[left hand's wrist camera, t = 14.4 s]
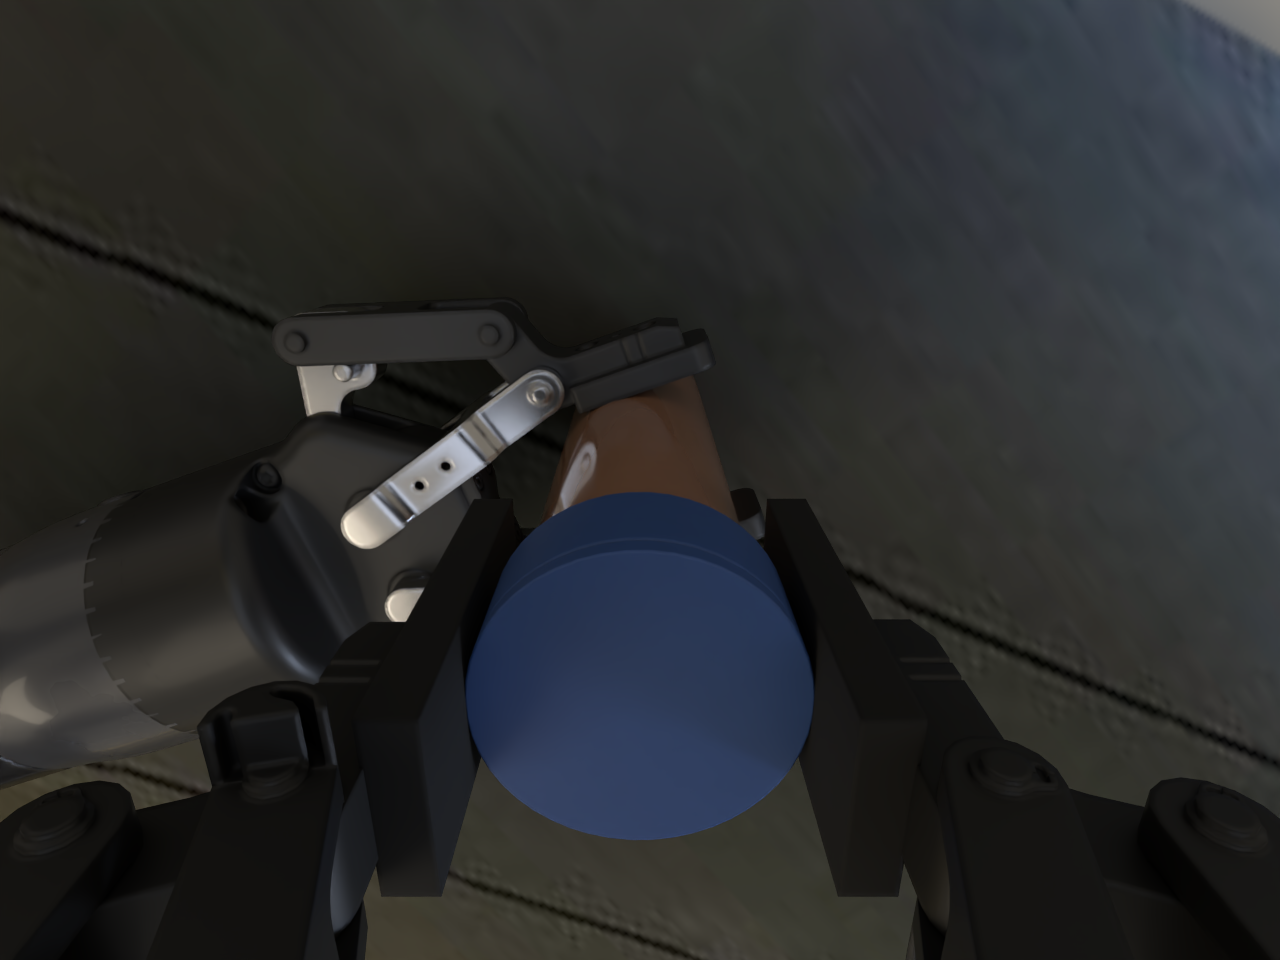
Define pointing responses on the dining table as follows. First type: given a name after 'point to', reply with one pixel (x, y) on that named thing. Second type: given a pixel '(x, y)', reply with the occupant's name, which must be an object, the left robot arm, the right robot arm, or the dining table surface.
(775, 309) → the dining table surface
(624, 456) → the jar
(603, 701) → the lid
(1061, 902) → the left robot arm
